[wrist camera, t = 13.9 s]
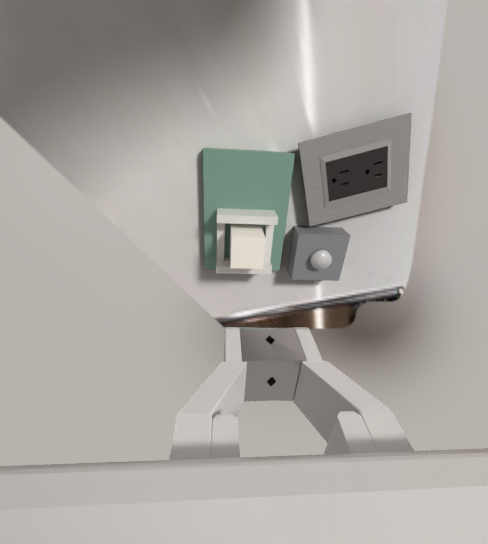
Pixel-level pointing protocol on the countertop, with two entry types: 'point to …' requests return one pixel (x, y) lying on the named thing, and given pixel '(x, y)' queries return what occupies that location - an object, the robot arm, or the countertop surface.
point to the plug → (247, 246)
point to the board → (245, 202)
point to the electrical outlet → (356, 169)
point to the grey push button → (317, 253)
